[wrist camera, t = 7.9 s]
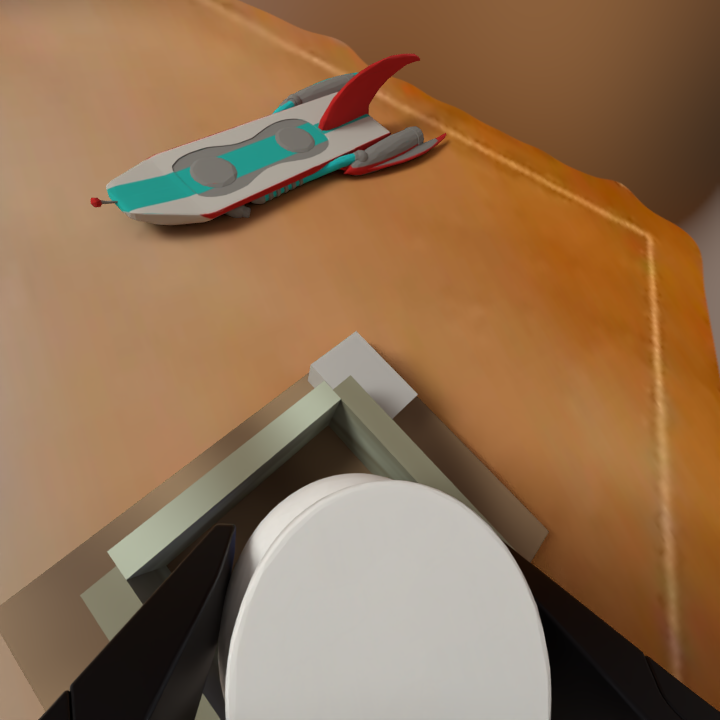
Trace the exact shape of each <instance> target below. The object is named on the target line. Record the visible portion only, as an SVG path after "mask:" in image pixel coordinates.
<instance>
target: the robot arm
mask: <svg viewBox="0 0 720 720" xmlns="http://www.w3.org/2000/svg"><path fill="white" fill-rule="evenodd" d="M235 538H236V526H235V525H234V524H217V525H215V526H214V527H213V528H212V529H211V530H210V532H209V533H208V534H207V535H206V536H205V537H204V538H203V539H202V540H201V541H200V543H199V544H198V545H197V546H196V547H195V548H194V549H193V550H192V551H191V552H190V554H189V555H188V556H187V557H186V558H185V559H184V560H183V561H182V562H181V563H180V565H179V566H178V567H177V568H176V569H175V570H174V571H173V572H172V573H171V574H170V576H169V577H168V578H167V579H166V580H165V581H164V582H163V583H162V584H161V586H160V587H159V588H158V589H157V590H156V591H155V592H154V593H153V594H152V595H151V597H150V598H149V599H148V600H147V601H146V602H145V603H144V604H143V605H142V606H141V608H140V609H139V610H138V611H137V612H136V613H135V614H134V615H133V616H132V617H131V619H130V620H129V621H128V622H127V623H126V624H125V625H124V626H123V627H122V629H121V630H120V631H119V632H118V633H117V634H116V635H115V636H114V637H113V638H112V640H111V641H110V642H109V643H108V644H107V645H106V646H105V647H104V648H103V649H102V651H101V652H100V653H99V654H98V655H97V656H96V657H95V658H94V659H93V660H92V662H91V663H90V664H89V665H88V666H87V667H86V668H85V669H84V670H83V671H82V673H81V674H80V675H79V676H78V677H77V678H76V679H75V680H74V681H73V683H72V684H71V685H70V688H69V689H70V692H69V690H66V691H64V692H63V693H62V694H61V695H60V696H59V698H58V699H57V700H56V701H55V702H54V703H53V704H52V705H51V706H50V708H49V709H48V710H47V711H46V712H45V713H44V714H43V715H42V716H41V718H40V719H39V720H195V717H196V713H197V710H198V707H199V703H200V700H201V697H202V693H203V690H204V687H205V683H206V680H207V677H208V673H209V670H210V667H211V663H212V660H213V657H214V653H215V650H216V646H217V642H218V638H219V630H220V623H221V617H222V611H223V605H224V599H225V595H226V590H227V586H228V583H229V580H230V577H231V572H232V567H233V561H234V554H235ZM502 541H503V540H502ZM503 543H504V544H505V545H506V546H507V548H508V549H509V551H510V553H511V554H512V556H513V557H514V559H515V560H516V562H517V564H518V566H519V568H520V569H521V571H522V573H523V575H524V577H525V579H526V581H527V583H528V586H529V588H530V590H531V593H532V595H533V597H534V600H535V602H536V605H537V608H538V611H539V615H540V619H541V623H542V627H543V631H544V636H545V641H546V646H547V651H548V657H549V664H550V676H551V698H552V700H551V720H720V712H719V711H718V710H716V709H715V708H714V707H712V706H711V705H710V704H708V703H707V702H706V701H704V700H703V699H702V698H700V697H699V696H698V695H697V694H695V693H694V692H693V691H691V690H690V689H689V688H688V687H686V686H685V685H684V684H682V683H681V682H680V681H679V680H677V679H676V678H675V677H673V676H672V675H671V674H670V673H668V672H667V671H666V670H665V669H663V668H662V667H661V666H660V665H658V664H657V663H656V662H655V661H653V660H652V659H651V658H650V657H648V656H644V654H643V652H642V651H641V650H639V649H638V648H637V647H636V646H634V645H633V644H632V643H631V642H629V641H628V640H627V639H626V638H624V637H623V636H622V635H621V634H619V633H618V632H617V631H616V630H614V629H613V628H612V627H611V626H609V625H608V624H607V623H605V622H604V621H603V620H602V619H600V618H599V617H598V616H597V615H595V614H594V613H593V612H592V611H590V610H589V609H588V608H587V607H585V606H584V605H583V604H582V603H580V602H579V601H578V600H577V599H575V598H574V597H573V596H572V595H570V594H569V593H568V592H567V591H565V590H564V589H563V588H562V587H560V586H559V585H558V584H557V583H555V582H554V581H553V580H552V579H550V578H549V577H548V576H547V575H545V574H544V573H543V572H542V571H540V570H539V569H538V568H536V567H535V566H534V565H533V564H531V563H530V562H529V561H528V560H526V559H525V558H524V557H523V556H521V555H520V554H519V553H518V552H516V551H515V550H514V549H513V548H511V547H510V546H509V545H508V544H506V543H505V542H504V541H503Z"/></svg>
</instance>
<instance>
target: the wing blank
mask: <svg viewBox="0 0 720 720" xmlns="http://www.w3.org/2000/svg"><path fill="white" fill-rule="evenodd" d="M350 375H351V376H352V377H353V378H354V379H355V380H356V381H357V382H358V384H359V385H360V386H361V387H362V388H363V389H364V390H365V391H366V392H367V393H368V394H369V395H370V396H371V397H372V398H373V399H374V401H375V402H376V403H377V404H378V405H379V406H380V407H381V408H382V409H383V410H384V411H385V412H386V413H387V414H388V415H389V416H390V418H391V419H393V418H394V417H395V416H396V415H397V414H398V413H399V412H400V411H401V410H402V409H403V408H404V407H405V406H406V405H407V404H408V403H409V402H410V401H412V400H413V399H414V398H415V397H416V396H417V395H418V394H417V393H416V392H415V391H414V390H413V389H412V388H411V387H410V386H409V385H408V384H407V383H406V382H405V381H404V380H403V379H402V378H401V377H400V376H399V375H398V373H397V372H396V371H395V370H394V369H393V368H392V367H391V366H390V365H389V364H388V363H387V362H386V361H385V360H384V359H383V358H382V357H381V356H380V355H379V354H378V353H377V352H376V351H375V350H374V349H373V348H372V347H371V346H370V345H369V344H368V343H367V342H366V341H365V340H364V339H363V338H362V337H361V336H360V335H359V334H358V333H357V332H354V333H353V334H352V335H350V336H349V337H348V338H346V339H345V340H343V341H342V342H341V343H339V344H338V345H337V346H335V347H334V348H333V349H331V350H330V351H329V352H327V353H326V354H325V355H323V356H322V357H321V358H319V359H318V360H317V361H315V362H314V363H313V364H311V366H310V371H309V376H308V382H309V383H310V384H311V385H312V386H313V387H314V388H316V387H317V386H318V385H319V384H321V383H322V382H323V381H325V382H326V383H327V384H328V385H329V386H330V387H331V389H332V390H333V389H334V388H335V387H337V386H338V385H339V384H340V383H342V382H343V381H344V380H345V379H346V378H348V377H349V376H350Z"/></svg>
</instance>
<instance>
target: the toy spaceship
mask: <svg viewBox="0 0 720 720" xmlns="http://www.w3.org/2000/svg"><path fill="white" fill-rule="evenodd" d="M415 61H420V58H419V57H418V56H416V55H415V54H400V55H393V56H389V57H387V58H385V59H382V60H380V61H378V62H375V63H373V64H372V65H370V66H368V67H367V68H365V69H364V70H362V71H361V72H359V73H351V74H345V75H341V76H337V77H333V78H329V79H326V80H323V81H321V82H318V83H316V84H313V85H312V86H309V87H307V88H305V89H302V90H300V91H298V92H296V93H295V94H291V95H290V96H289V97H288V98H287V99H285V100H284V101H283V102H282V103H281V104H280V106H279V107H278V109H276V110H275V111H274V112H273V114H271V115H269V116H266V117H263V118H260V119H257V120H254V121H251V122H248V123H245V124H242V125H239V126H236V127H234V128H231V129H228V130H225V131H222V132H219V133H216V134H213V135H210V136H207V137H204V138H202V139H199V140H196V141H193V142H190V143H187V144H184V145H181V146H178V147H175V148H172V149H170V150H167V151H164V152H161V153H158V154H155V155H153V156H151V157H149V158H148V159H146V160H144V161H143V162H141V163H140V164H138V165H136V166H135V167H133V168H131V169H130V170H128V171H126V172H125V173H123V174H121V175H120V176H118V177H116V178H115V179H113V180H112V181H111V182H110V183H109V184H108V185H107V186H106V188H107V192H108V195H109V197H110V199H111V200H112V201H102V200H99V199H98V198H91V204H92V205H93V206H94V207H101V205H102V204H109V203H115V204H116V205H117V206H118V207H119V208H120V209H121V211H122V212H124V213H125V214H126V215H127V216H129V217H130V218H132V219H135V220H138V221H143V222H148V223H153V224H159V225H179V224H190V223H202V222H207V221H210V220H213V219H214V218H216V217H218V216H220V215H222V214H226V215H228V216H231V217H235V218H241V217H246V218H249V215H250V211H251V208H249V207H246V206H244V204H247V203H249V202H252V203H255V204H263V203H265V201H267V200H268V201H269V200H272V199H273V197H278V196H280V195H281V194H282V193H286V192H288V190H293V189H295V188H296V186H301V185H303V184H304V183H306V182H309V181H311V180H314V179H316V178H319V177H321V176H323V175H326V174H328V173H331V172H333V171H335V170H338V169H340V170H346V172H345V173H344V174H350V175H354V176H357V175H364V174H368V173H371V172H375V171H378V170H381V169H383V168H386V167H390V166H393V165H397V164H400V163H404V162H406V161H409V160H412V159H414V158H416V157H418V156H421V155H423V154H425V153H426V152H428V151H429V150H431V149H432V148H433V147H435V146H436V145H437V144H438V143H439V142H441V141H442V140H443V139H444V138H445V136H446V133H445V134H443V135H441V136H439V137H437V138H435V139H432V140H430V141H428V142H425V143H423V141H424V138H423V133H422V131H421V130H420V129H419V128H418V127H409V128H406V129H404V130H403V131H400V132H398V133H395V134H392V135H391V133H390V132H389V131H388V130H387V129H385V128H384V127H383V126H382V125H380V124H379V123H378V122H377V121H375V120H374V119H373V118H372V117H370V116H369V115H368V112H369V104H370V102H371V101H372V99H373V97H374V96H375V94H376V93H377V91H378V90H379V88H380V87H381V86H382V85H383V84H384V83H385V82H386V81H387V79H389V78H390V77H391V76H392V75H394V74H395V73H396V72H397V71H398V70H400V69H401V68H402V67H404V66H405V65H407V64H410V63H412V62H415Z"/></svg>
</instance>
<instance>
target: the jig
mask: <svg viewBox="0 0 720 720" xmlns="http://www.w3.org/2000/svg"><path fill="white" fill-rule="evenodd" d="M308 376H309V373H308V374H307V375H305V376H304V377H303V378H301V379H300V380H299V381H297V382H296V383H295V384H293V385H292V386H291V387H289V388H288V389H287V390H285V391H284V392H283V393H281V394H280V395H279V396H277V397H276V398H275V399H273V400H272V401H271V402H269V403H268V404H267V405H265V406H264V407H263V408H262V409H260V410H259V411H258V412H256V413H255V414H254V415H252V416H251V417H250V418H248V419H247V420H246V421H244V422H243V423H242V424H240V425H239V426H238V427H236V428H235V429H234V430H232V431H231V432H230V433H228V434H227V435H226V436H224V437H223V438H222V439H220V440H219V441H218V442H216V443H215V444H214V445H212V446H211V447H210V448H208V449H207V450H206V451H205V452H203V453H202V454H201V455H199V456H198V457H197V458H195V459H194V460H193V461H191V462H190V463H189V464H187V465H186V466H185V467H183V468H182V469H181V470H179V471H178V472H177V473H175V474H174V475H173V476H171V477H170V478H169V479H167V480H166V481H165V482H163V483H162V484H161V485H159V486H158V487H157V488H155V489H154V490H153V491H151V492H150V493H149V494H147V495H146V496H145V497H144V498H142V499H141V500H140V501H138V502H137V503H136V504H134V505H133V506H132V507H130V508H129V509H128V510H126V511H125V512H124V513H122V514H121V515H120V516H118V517H117V518H116V519H114V520H113V521H112V522H110V523H109V524H108V525H106V526H105V527H104V528H102V529H101V530H100V531H98V532H97V533H96V534H94V535H93V536H92V537H90V538H89V539H88V540H87V541H85V542H84V543H83V544H81V545H80V546H79V547H77V548H76V549H75V550H73V551H72V552H71V553H69V554H68V555H67V556H65V557H64V558H63V559H61V560H60V561H59V562H57V563H56V564H55V565H53V566H52V567H51V568H49V569H48V570H47V571H45V572H44V573H43V574H41V575H40V576H39V577H37V578H36V579H35V580H33V581H32V582H31V583H30V584H28V585H27V586H26V587H24V588H23V589H22V590H20V591H19V592H18V593H16V594H15V595H14V596H12V597H11V598H10V599H8V600H7V601H6V602H4V603H3V604H2V605H0V633H1V635H2V637H3V639H4V640H5V642H6V644H7V645H8V647H9V649H10V651H11V652H12V654H13V656H14V658H15V659H16V661H17V663H18V665H19V666H20V668H21V670H22V672H23V673H24V675H25V677H26V678H27V680H28V682H29V684H30V685H31V687H32V689H33V691H34V692H35V694H36V696H37V698H38V699H39V701H40V703H41V705H42V706H43V708H44V710H45V711H47V710H48V709H49V708H50V706H51V705H52V704H53V703H54V702H55V701H56V700H57V699H58V698H59V696H60V695H61V694H62V693H63V692H64V691H66V690H69V692H70V689H69V688H70V685H71V684H72V683H73V681H74V680H75V679H76V678H77V677H78V676H79V675H80V674H81V673H82V671H83V670H84V669H85V668H86V667H87V666H88V665H89V664H90V663H91V662H92V660H93V659H94V658H95V657H96V656H97V655H98V654H99V653H100V652H101V651H102V649H103V648H104V647H105V646H106V645H107V644H108V643H109V642H110V641H111V640H112V638H113V637H114V636H115V635H116V634H117V633H118V632H119V631H120V630H121V629H122V627H123V626H124V625H125V624H126V623H127V622H128V621H129V620H130V619H131V617H132V616H133V615H134V614H135V613H136V612H137V611H138V610H139V609H140V608H141V606H142V605H143V604H144V603H145V602H146V601H147V600H148V599H149V598H150V597H151V595H152V594H153V593H154V592H155V591H156V590H157V589H158V588H159V587H160V586H161V584H162V583H163V582H164V581H165V580H166V579H167V578H168V577H169V576H170V574H171V573H172V572H173V571H174V570H175V569H176V568H177V567H178V566H179V565H180V563H181V562H182V561H183V560H184V559H185V558H186V557H187V556H188V555H189V554H190V552H191V551H192V550H193V549H194V548H195V547H196V546H197V545H198V544H199V543H200V541H201V540H202V539H203V538H204V537H205V536H206V535H207V534H208V533H209V532H210V530H211V529H212V528H213V527H214V526H215V525H217V524H234V525H235V526H236V538H235V554H234V561H233V567H232V572H233V569H234V567H235V564H236V562H237V560H238V558H239V556H240V554H241V552H242V550H243V548H244V547H245V545H246V543H247V541H248V540H249V538H250V537H251V535H252V534H253V532H254V531H255V529H256V528H257V527H258V525H259V524H260V523H261V521H262V520H263V519H264V518H265V517H266V516H267V515H268V514H269V513H270V512H271V511H272V510H273V509H274V508H275V507H276V506H277V505H278V504H279V503H280V502H282V501H283V500H284V499H286V498H287V497H288V496H289V495H291V494H293V493H294V492H296V491H297V490H299V489H301V488H302V487H304V486H306V485H308V484H310V483H313V482H315V481H317V480H320V479H323V478H327V477H331V476H335V475H340V474H349V473H365V474H373V475H378V476H382V477H387V478H389V479H392V480H403V481H410V482H415V483H420V484H423V485H426V486H429V487H432V488H435V489H438V490H440V491H442V492H444V493H446V494H448V495H450V496H452V497H454V498H456V499H457V500H459V501H460V502H462V503H463V504H465V505H466V506H467V507H469V508H470V509H471V510H473V511H474V512H475V513H476V514H477V515H478V516H480V517H481V518H482V519H483V520H484V521H485V522H486V523H487V524H488V525H489V526H490V527H491V528H492V529H493V531H494V532H495V533H496V534H497V535H498V536H499V538H500V539H501V540H503V541H504V542H505V543H506V544H508V545H509V546H510V547H511V548H513V549H514V550H515V551H516V552H518V553H519V554H520V555H521V556H523V557H524V558H525V559H526V560H528V561H529V562H530V563H531V561H532V559H533V558H534V556H535V554H536V553H537V551H538V549H539V548H540V546H541V544H542V542H543V541H544V539H545V537H546V536H547V534H548V532H549V531H548V530H547V529H546V528H545V527H544V526H543V525H542V524H541V523H540V522H539V521H538V520H537V519H536V518H535V517H534V516H533V515H532V514H531V513H530V512H529V510H528V509H527V508H526V507H525V506H524V505H523V504H522V503H521V502H520V501H519V500H518V499H517V498H516V497H515V496H514V495H513V494H512V493H511V492H510V491H509V490H508V489H507V488H506V487H505V486H504V485H503V484H502V483H501V482H500V481H499V480H498V479H497V478H496V477H495V476H494V475H493V474H492V473H491V472H490V471H489V469H488V468H487V467H486V466H485V465H484V464H483V463H482V462H481V461H480V460H479V459H478V458H477V457H476V456H475V455H474V454H473V453H472V452H471V451H470V450H469V449H468V448H467V447H466V446H465V445H464V444H463V443H462V442H461V441H460V440H459V439H458V438H457V437H456V436H455V435H454V434H453V433H452V432H451V431H450V429H449V428H448V427H447V426H446V425H445V424H444V423H443V422H442V421H441V420H440V419H439V418H438V417H437V416H436V415H435V414H434V413H433V412H432V411H431V410H430V409H429V408H428V407H427V406H426V405H425V404H424V403H423V402H422V401H421V400H420V399H419V398H418V397H417V396H416V397H415V398H414V399H413V400H412V401H410V402H409V403H408V404H407V405H406V406H405V407H404V408H403V409H402V410H401V411H400V412H399V413H398V414H397V415H396V416H395V417H394V418H393V419H391V418H390V416H389V415H388V414H387V413H386V412H385V411H384V410H383V409H382V408H381V407H380V406H379V405H378V404H377V403H376V402H375V401H374V399H373V398H372V397H371V396H370V395H369V394H368V393H367V392H366V391H365V390H364V389H363V388H362V387H361V386H360V385H359V384H358V382H357V381H356V380H355V379H354V378H353V377H352V376H351V375H350V376H349V377H348V378H346V379H345V380H344V381H343V382H342V383H340V384H339V385H338V386H337V387H335V388H334V389H333V390H332V389H331V387H330V386H329V385H328V384H327V383H326V382H325V381H323V382H322V383H321V384H319V385H318V386H317V387H316V388H314V387H313V386H312V385H311V384H310V383H309V382H308ZM232 572H231V574H232ZM195 720H226V715H225V701H224V697H223V693H222V688H221V683H220V675H219V665H218V642H217V646H216V650H215V653H214V657H213V660H212V663H211V667H210V670H209V673H208V677H207V680H206V683H205V687H204V690H203V693H202V697H201V700H200V703H199V707H198V710H197V713H196V717H195Z"/></svg>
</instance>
